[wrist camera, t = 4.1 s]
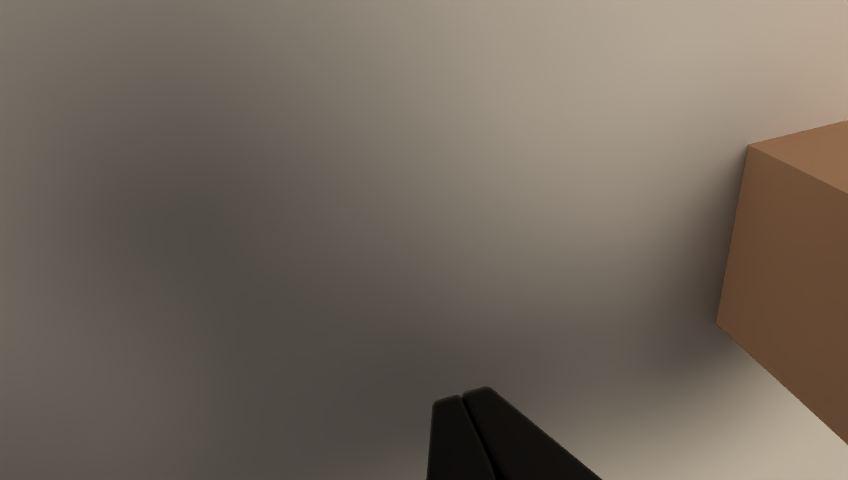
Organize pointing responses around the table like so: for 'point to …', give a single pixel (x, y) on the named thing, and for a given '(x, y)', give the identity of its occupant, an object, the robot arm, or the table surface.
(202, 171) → the table surface
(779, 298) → the plug block
